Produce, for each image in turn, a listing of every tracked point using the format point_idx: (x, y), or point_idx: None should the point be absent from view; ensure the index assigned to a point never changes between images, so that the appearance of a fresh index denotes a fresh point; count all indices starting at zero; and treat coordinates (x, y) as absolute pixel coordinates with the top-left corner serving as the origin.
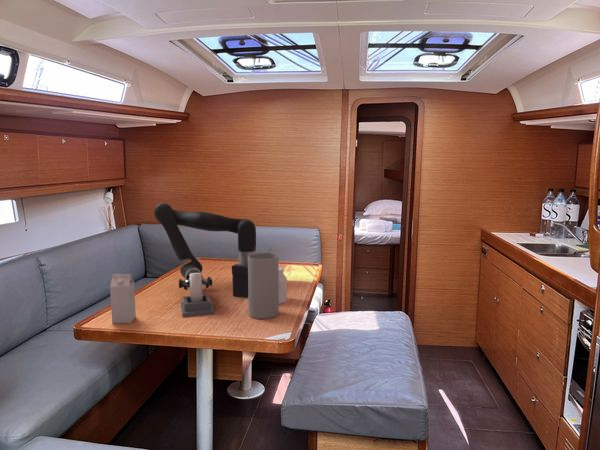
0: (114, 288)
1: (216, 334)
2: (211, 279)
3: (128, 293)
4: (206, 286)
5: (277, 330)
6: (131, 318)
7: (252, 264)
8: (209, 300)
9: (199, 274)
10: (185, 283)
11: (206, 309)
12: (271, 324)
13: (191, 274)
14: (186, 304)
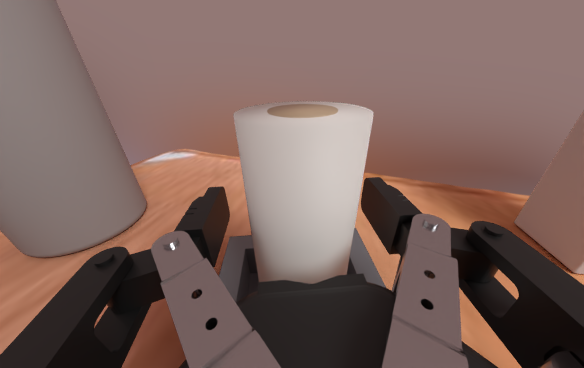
0: None
1: None
2: (78, 279)
3: (580, 118)
4: (224, 203)
5: (157, 166)
6: (527, 219)
7: (60, 11)
8: (231, 255)
9: (261, 107)
10: (400, 201)
11: None
12: (142, 181)
13: (347, 110)
14: None
